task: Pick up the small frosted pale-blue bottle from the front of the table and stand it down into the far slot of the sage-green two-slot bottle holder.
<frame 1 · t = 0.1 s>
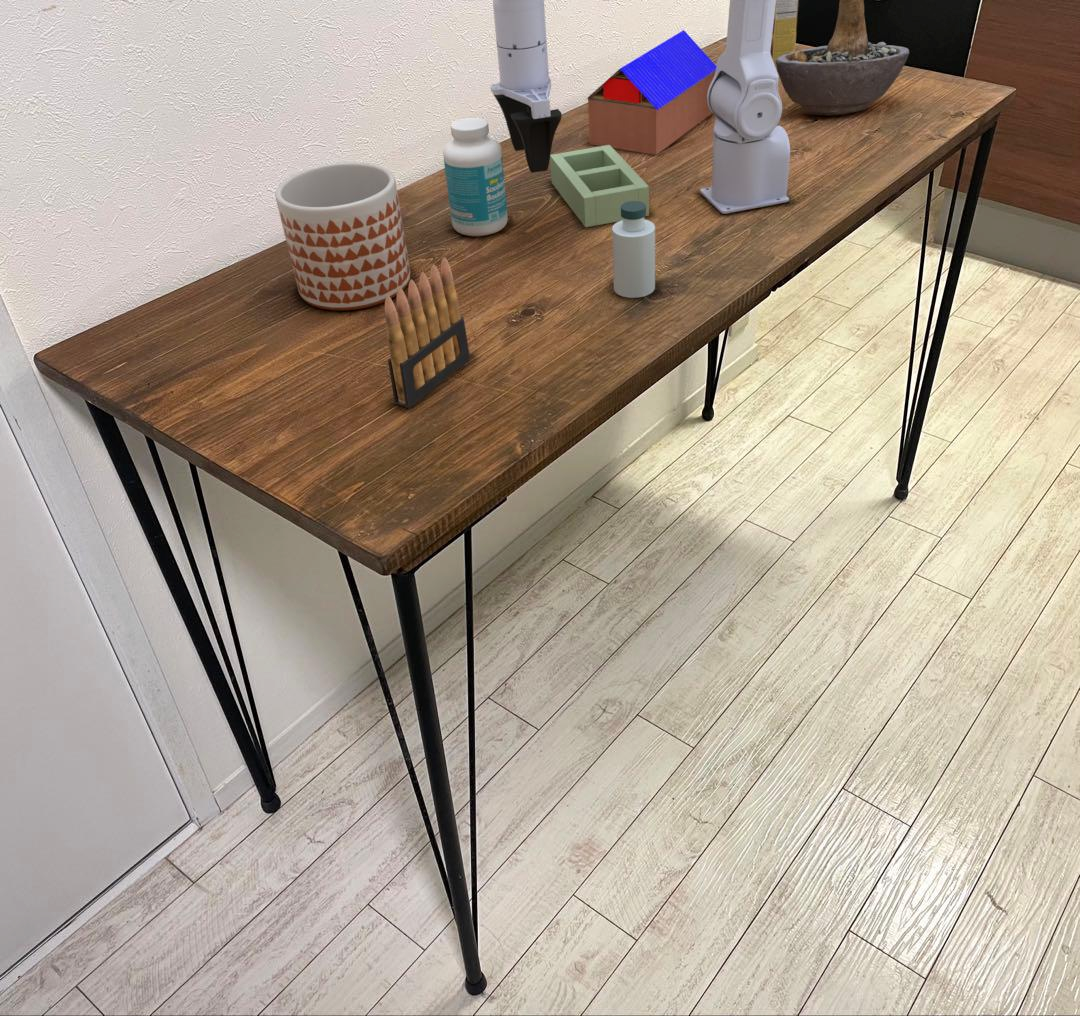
hand: (530, 159, 125), 10 cm above the table, tool pointing down, fingers open, 7 cm apart
holder: (598, 198, 139), on the table
ammunition clip: (433, 382, 106), on the table
planter: (836, 112, 158), on the table
patterned ceramic pot: (355, 286, 124), on the table
candy box: (775, 64, 178), on the table
bottle: (634, 288, 119), on the table
house: (653, 129, 158), on the table
pill bottle: (480, 227, 135), on the table
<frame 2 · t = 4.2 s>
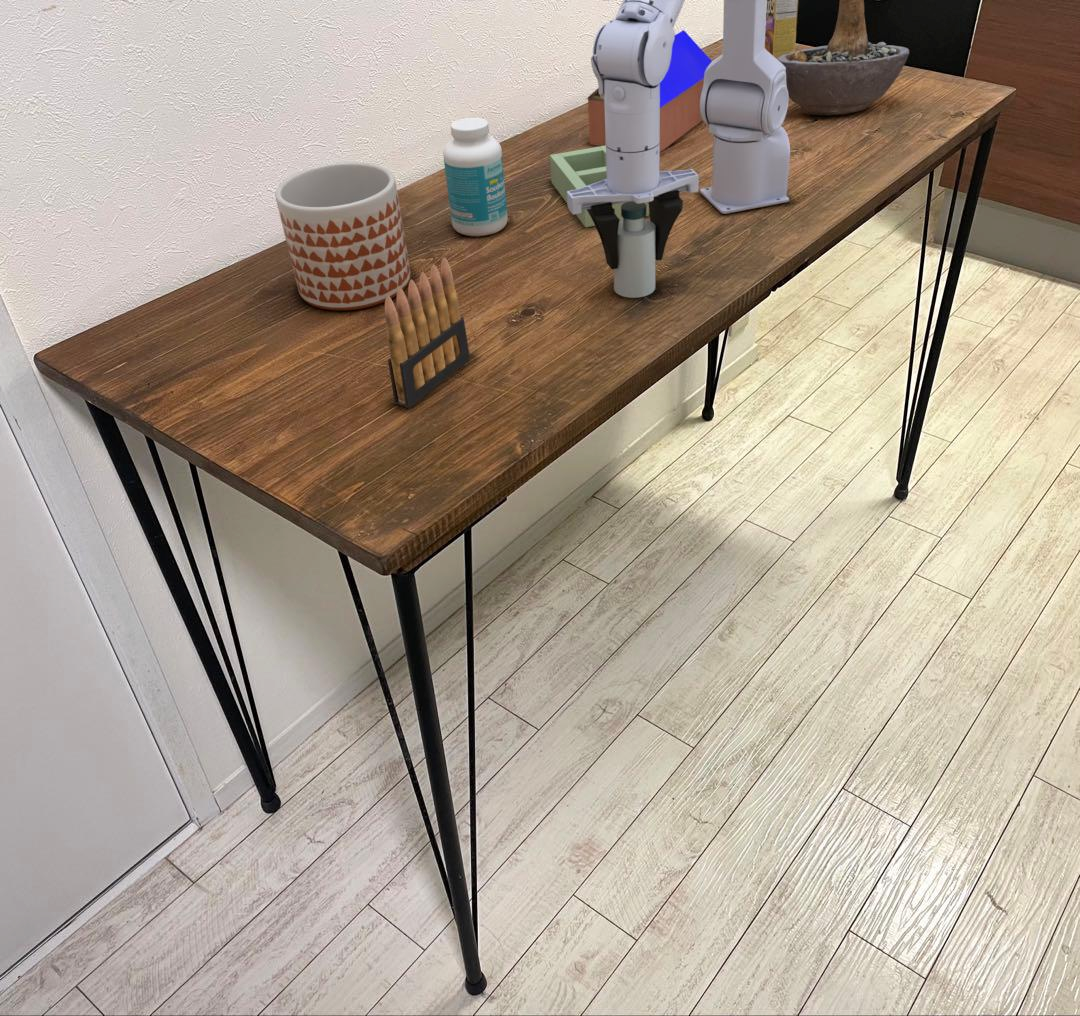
hand: (633, 261, 117), 3 cm above the table, tool pointing down, fingers closed on bottle, 5 cm apart
bottle: (634, 287, 119), on the table, touching gripper
everything else where it was.
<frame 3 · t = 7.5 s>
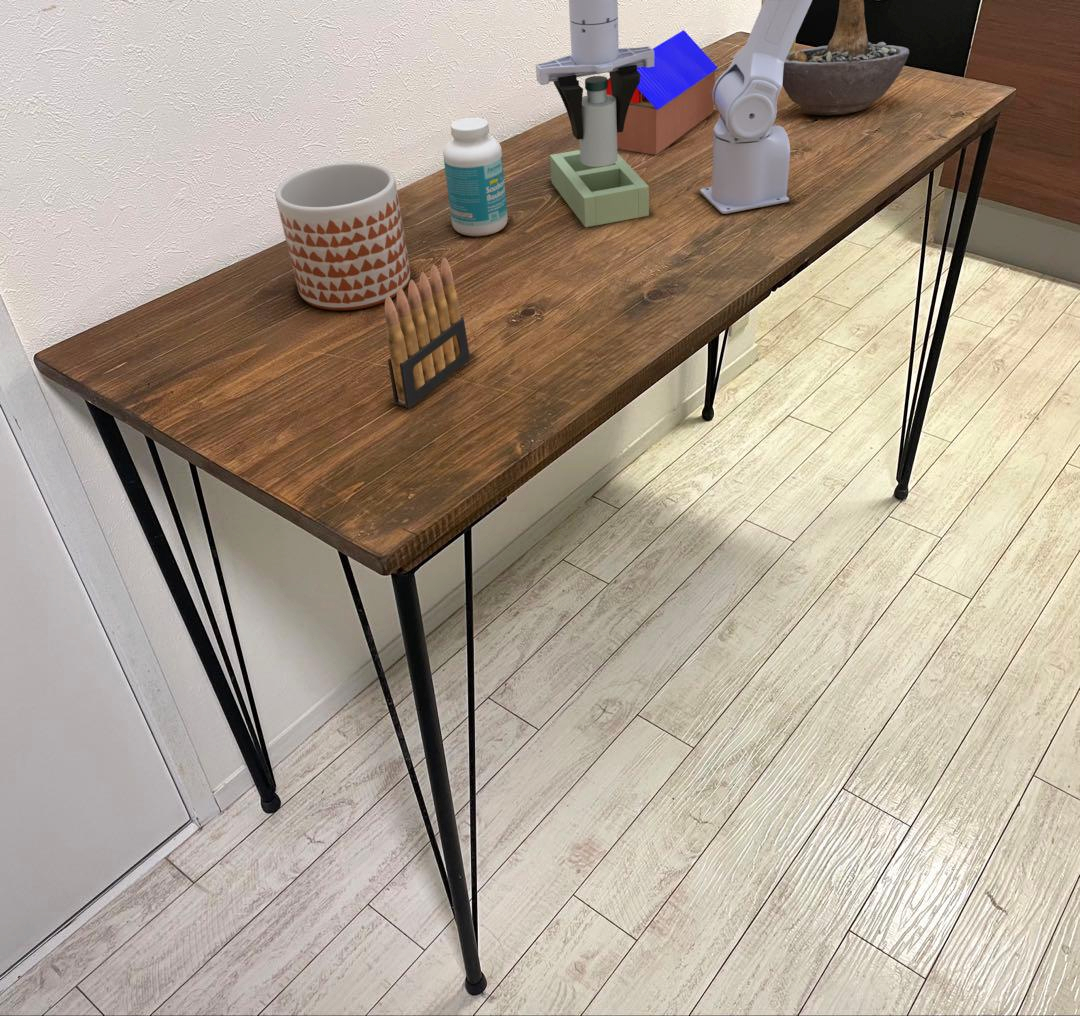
hand: (597, 133, 129), 10 cm above the table, tool pointing down, fingers closed on bottle, 5 cm apart
bottle: (598, 159, 131), point 7 cm above the table, touching gripper
everything else where it was.
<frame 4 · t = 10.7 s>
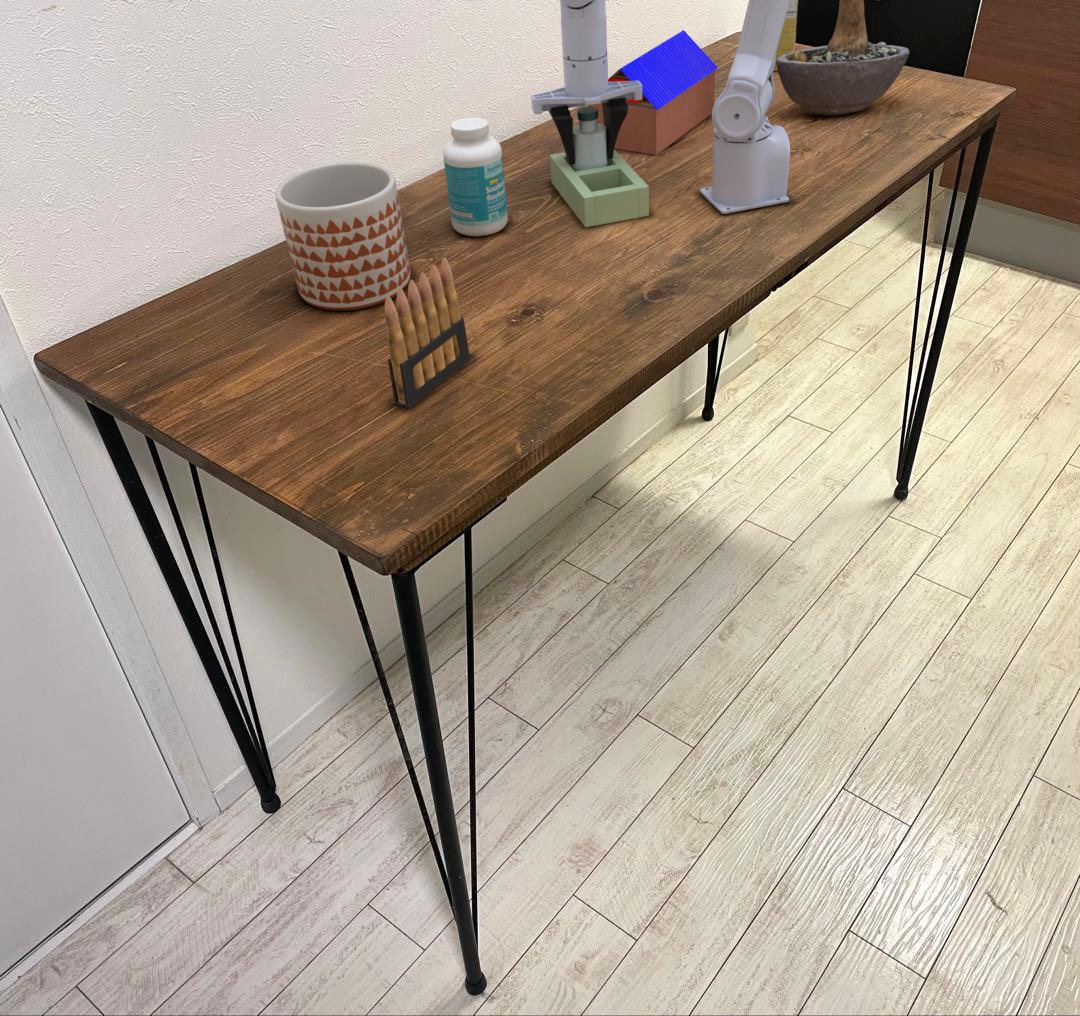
hand: (589, 159, 139), 4 cm above the table, tool pointing down, fingers closed on bottle, 5 cm apart
bottle: (590, 183, 141), point 1 cm above the table, touching gripper
everything else where it was.
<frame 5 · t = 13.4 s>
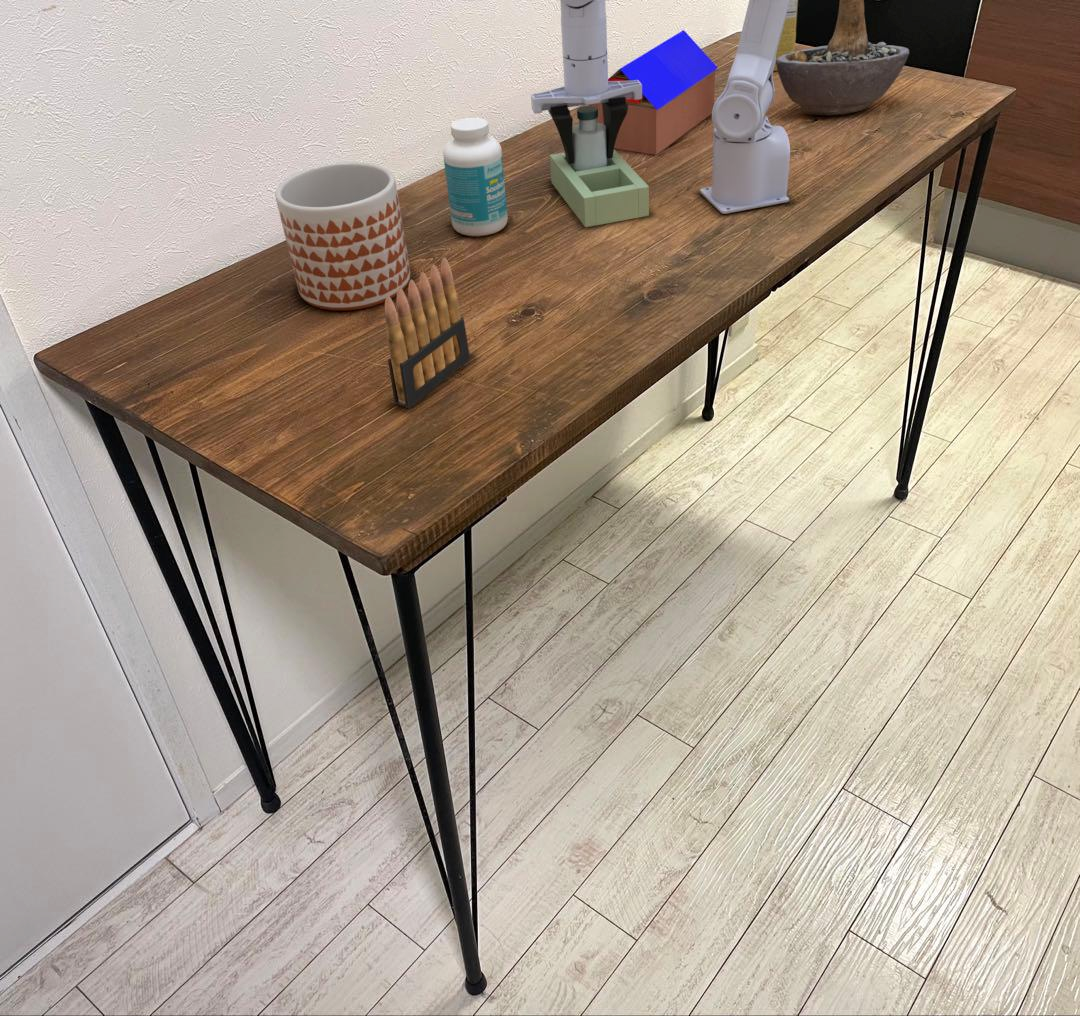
hand: (589, 158, 139), 4 cm above the table, tool pointing down, fingers closed on bottle, 5 cm apart
bottle: (590, 182, 141), point 1 cm above the table, touching gripper
everything else where it was.
when the fingers open (5 cm above the table, at t = 16.0 s): bottle drops 1 cm, resting in holder.
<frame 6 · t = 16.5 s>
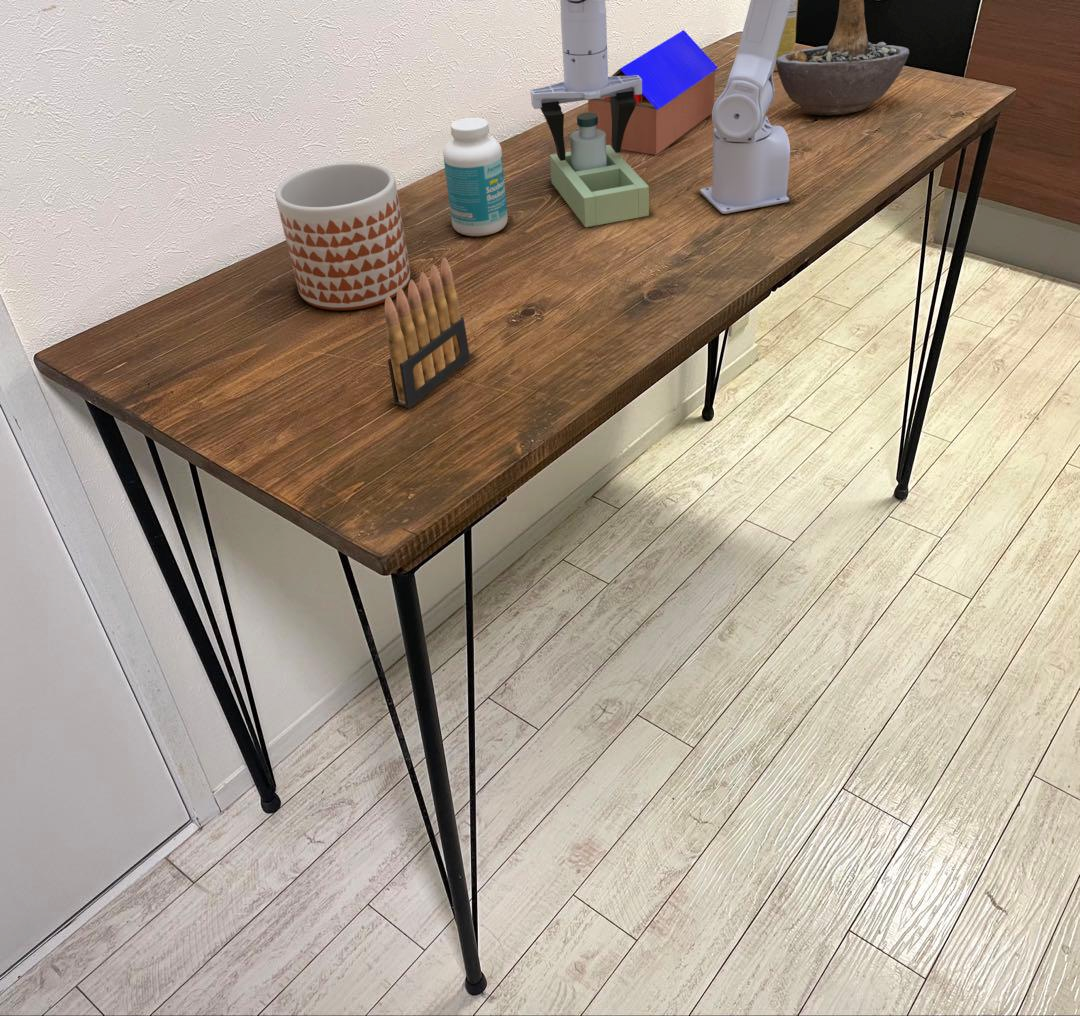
hand: (588, 154, 139), 5 cm above the table, tool pointing down, fingers open, 7 cm apart
bottle: (590, 188, 142), resting in holder
everything else where it was.
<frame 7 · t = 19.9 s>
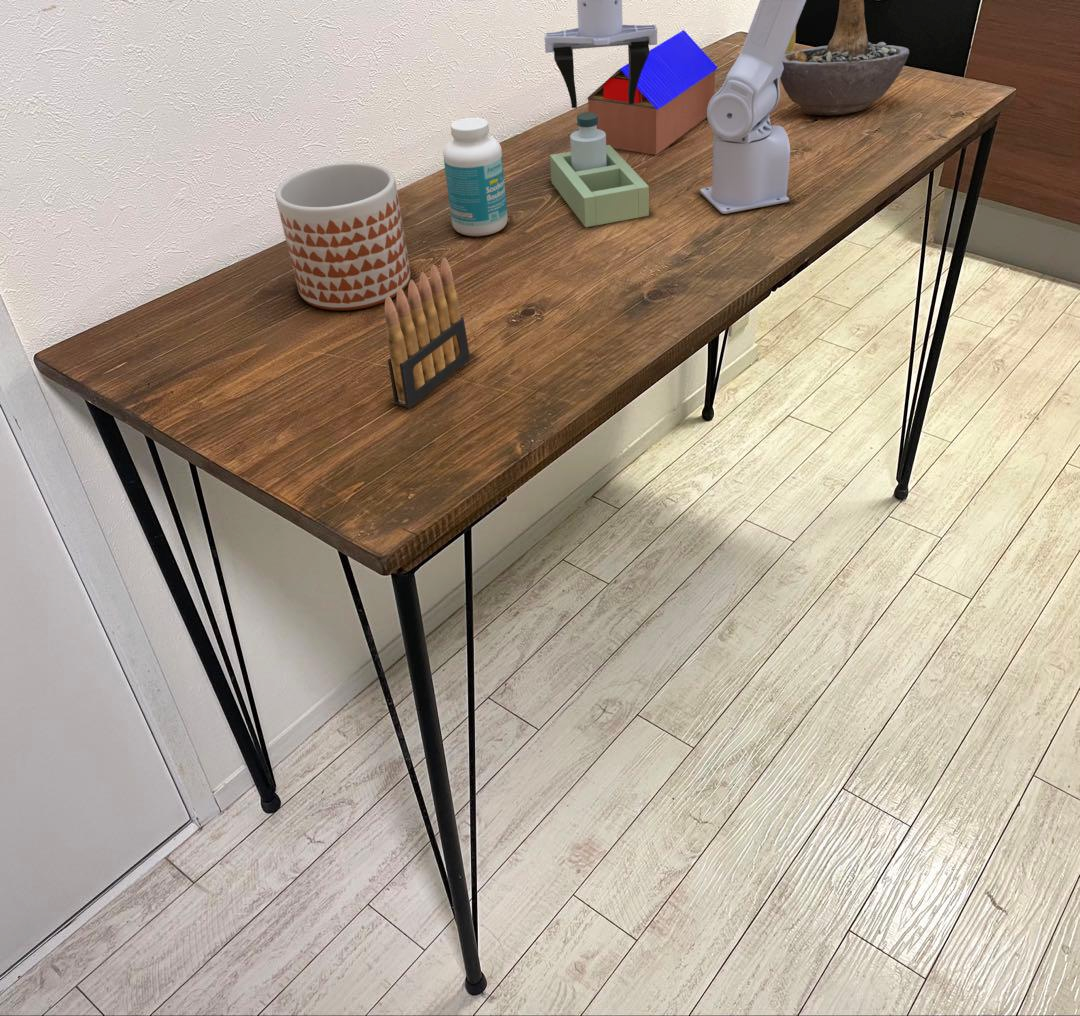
hand: (602, 103, 138), 10 cm above the table, tool pointing down, fingers open, 7 cm apart
nothing on the table moved.
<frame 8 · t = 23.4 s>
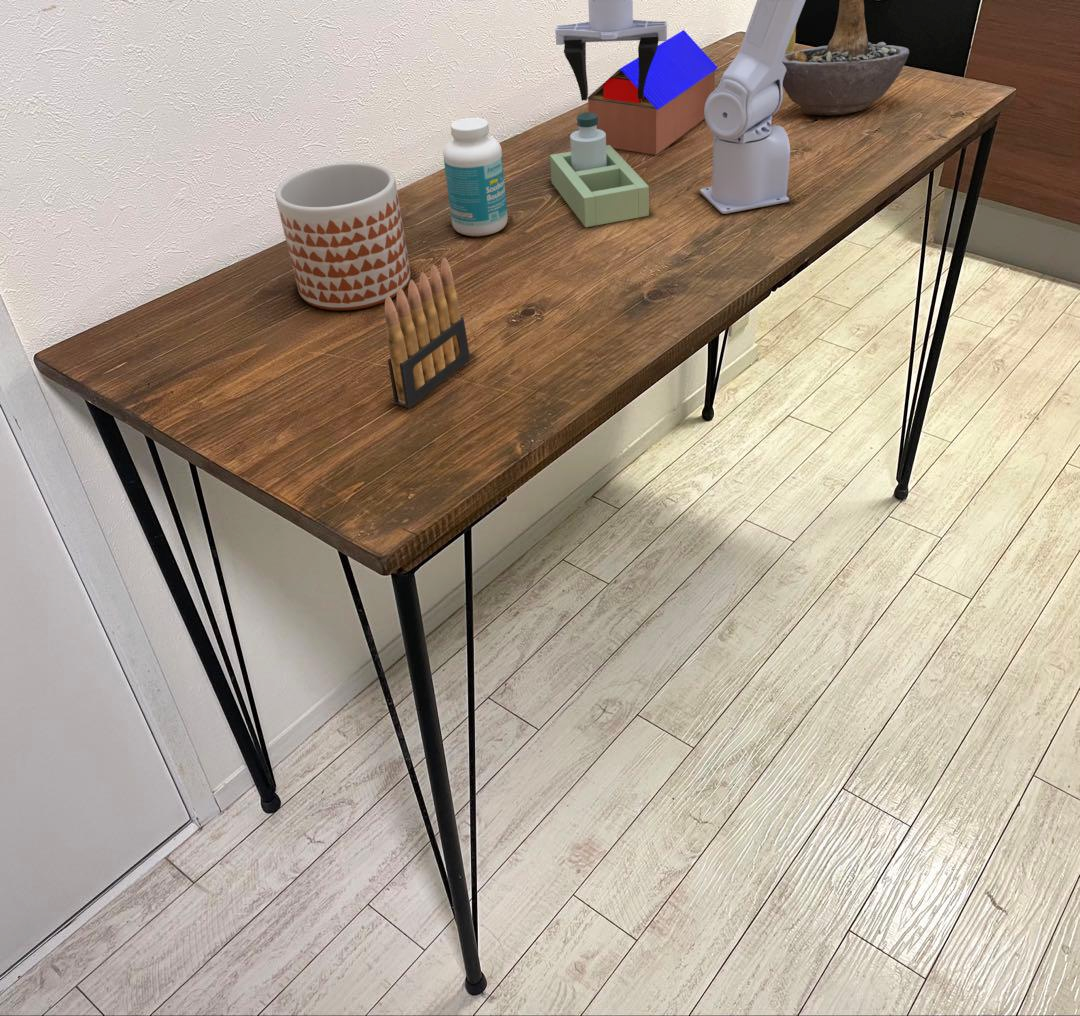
hand: (612, 97, 139), 10 cm above the table, tool pointing down, fingers open, 7 cm apart
nothing on the table moved.
at the end: bottle 0.0 cm from the target spot in the holder, point 0.0 cm above the holder's base; bottle tilted 0°; the gripper is holding nothing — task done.
